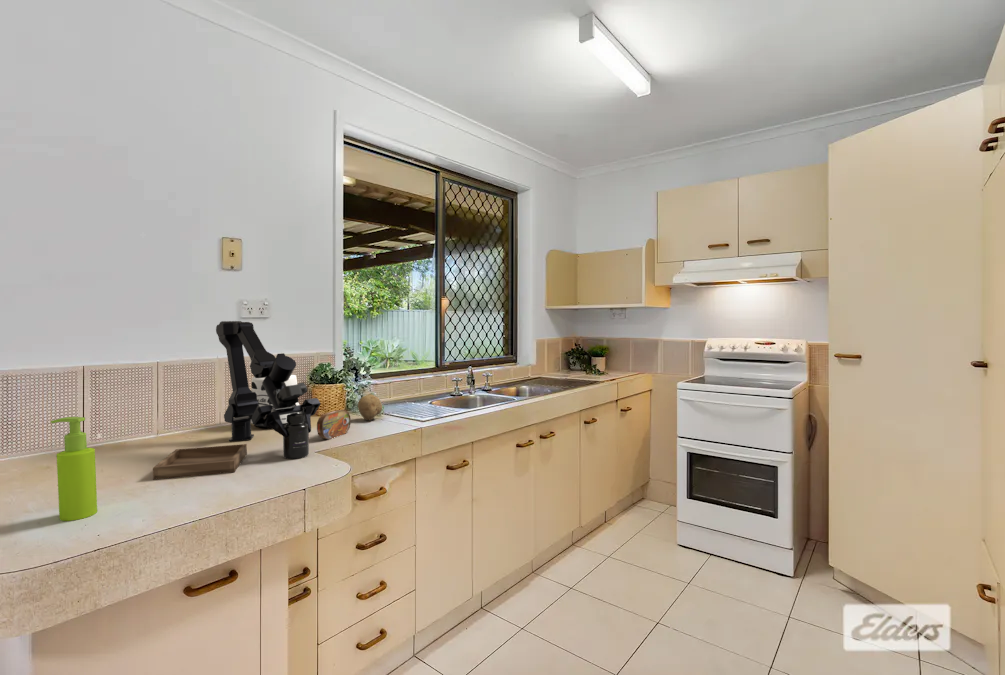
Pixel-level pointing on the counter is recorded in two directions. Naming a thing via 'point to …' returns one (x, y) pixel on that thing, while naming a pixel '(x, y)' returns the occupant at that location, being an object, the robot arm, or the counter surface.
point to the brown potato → (369, 406)
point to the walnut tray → (200, 461)
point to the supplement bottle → (296, 437)
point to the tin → (333, 424)
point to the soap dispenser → (76, 474)
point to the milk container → (263, 396)
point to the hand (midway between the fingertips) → (298, 434)
